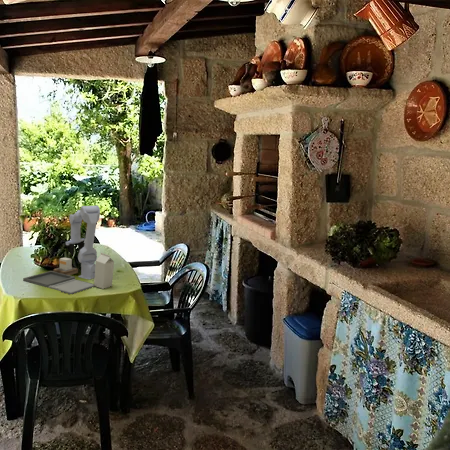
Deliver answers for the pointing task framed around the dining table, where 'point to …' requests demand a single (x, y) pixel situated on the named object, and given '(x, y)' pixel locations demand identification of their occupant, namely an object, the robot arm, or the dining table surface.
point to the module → (65, 263)
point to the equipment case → (59, 282)
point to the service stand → (66, 271)
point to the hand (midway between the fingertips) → (75, 254)
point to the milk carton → (103, 271)
